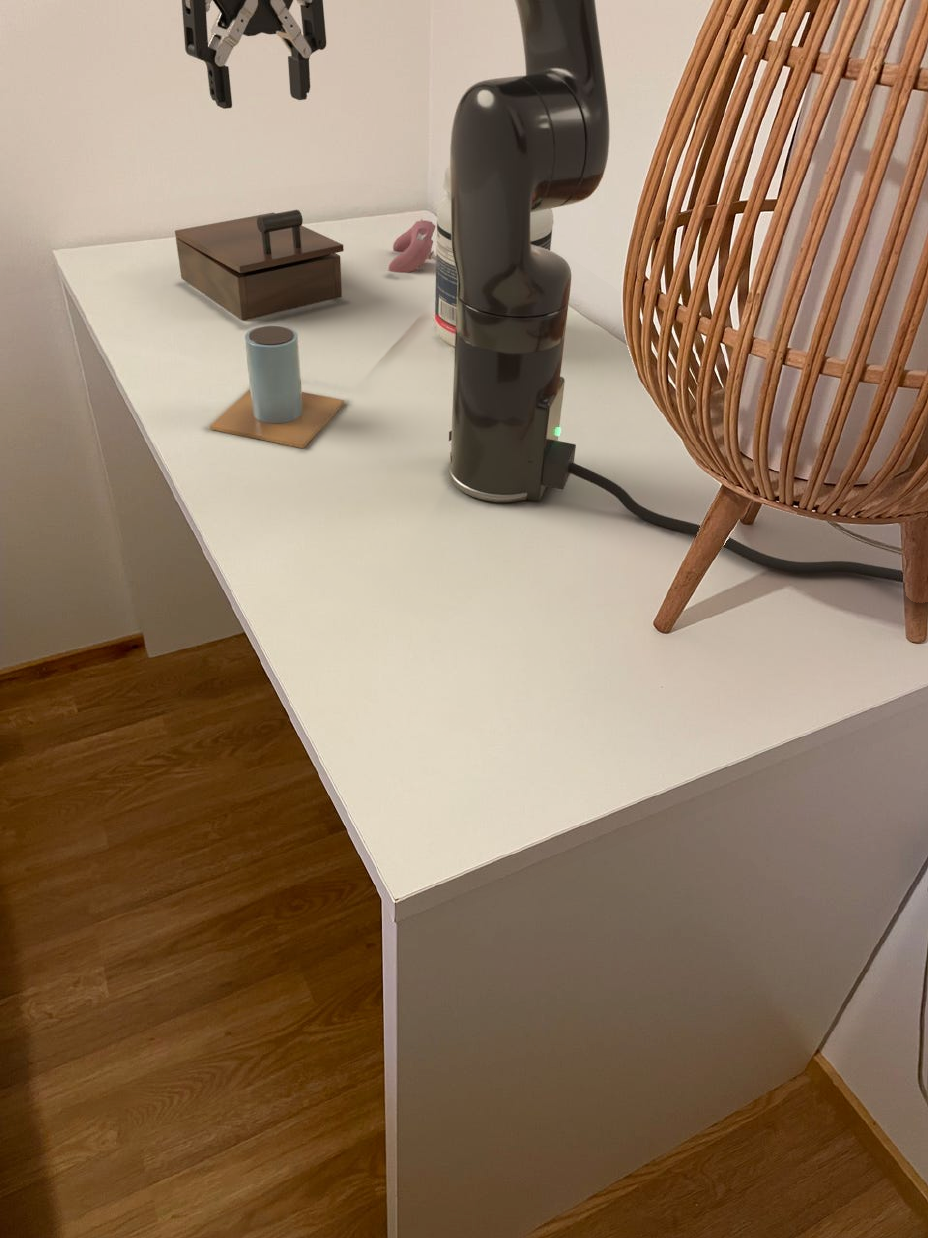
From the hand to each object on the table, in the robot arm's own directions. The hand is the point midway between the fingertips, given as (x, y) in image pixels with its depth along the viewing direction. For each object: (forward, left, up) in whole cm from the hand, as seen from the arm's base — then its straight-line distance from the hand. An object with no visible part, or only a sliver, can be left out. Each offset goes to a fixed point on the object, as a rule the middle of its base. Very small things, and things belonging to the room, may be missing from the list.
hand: (262, 102), depth 99 cm
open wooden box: (+7, -9, -24) cm, 27 cm away
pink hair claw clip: (-7, -26, -24) cm, 36 cm away
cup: (-9, +19, -24) cm, 32 cm away
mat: (-9, +19, -24) cm, 32 cm away
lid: (+7, -9, -18) cm, 21 cm away
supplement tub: (-23, -8, -24) cm, 34 cm away
